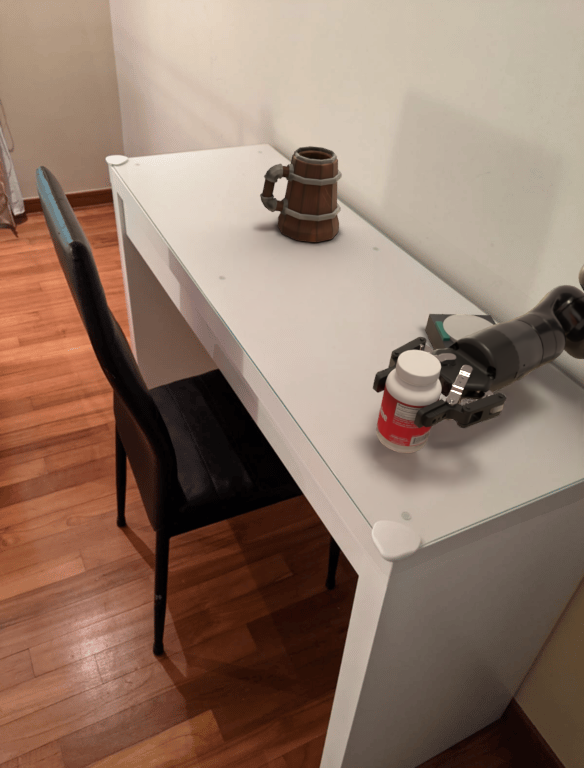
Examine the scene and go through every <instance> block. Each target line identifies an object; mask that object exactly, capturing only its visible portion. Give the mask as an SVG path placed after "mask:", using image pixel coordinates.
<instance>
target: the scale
mask: <svg viewBox="0 0 584 768" xmlns="http://www.w3.org/2000/svg"><path fill="white" fill-rule="evenodd" d="M495 324H497V323H496V321H495V320H494V318H493V316H492V315H491V314H468V313H458V314H457V313H449V314H448V313H429V314H428V318H427V321H426V325H425V329H424V330H425V332H426V335H427V337H428V339H429V341H430V343H431V345H432V349H433V350H436V349H447V348H448V347H450V346H451V345H452V344H453V343H454V342H456V341H457V340H459V339H461V338H463V337H465V336H468V335H470V334H473V333H475V332H478V331H480V330H483V329H485V328H487V327H490V326H492V325H495Z"/></svg>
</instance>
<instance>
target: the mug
mask: <svg viewBox="0 0 584 768" xmlns="http://www.w3.org/2000/svg"><path fill="white" fill-rule="evenodd" d="M342 175H343V174H342V172H341V170H340V169H339V159H338V155H337V154H336V153H335V152H334V151H333V150H331V149H328V148H325V147H322V146H313V145H309V146H302V147H298V148H297V149H295V150H294V151H293V154H292V155H291V160H290V163H288V164H286V165H283V164H282V163H278V164H274V165H272V166H271V167H270V168H268V169H267V170H266V172H265V174H264V175H263V177H264V183H263V188H262V192H261V193H260V194H259V197H260V201H261V203H262V205H263V207H264V208H265V209H266V210H267V211H270V212H271V213H274V212H280V213H279V215H278V217H277V228H278V229H279V231H280V233H281V234H282V235H284V236H286V237H289V238H290V239H293V240H295V241H301V242H310V243H321V242H324V241H330V240H333V239H334V238H335V237H336V235H338V233H339V229H340V221H339V220H340V219H339V216H338V214H339V213H340V212H341V209H342V207H341V206H340V205H339V203H338V181H339V180H340V179H341V178H342ZM283 178H285V179H286V181H287V184H286V187H285V194H284V197H283V198H282V199H281V200H279V199H277V198H276V197H275V195H274V190H275V186H276V183H278V180H282V179H283Z"/></svg>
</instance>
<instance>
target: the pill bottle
mask: <svg viewBox="0 0 584 768" xmlns="http://www.w3.org/2000/svg"><path fill="white" fill-rule="evenodd" d="M440 370H441V364H440V362H439V360H438V359H437V358H436V357H435V356H433V355H432V354H430V353H428V352H425V351H421V350H408V351H405V352H403V353H402V354H400V356H399V357H398V360H397V364H396V368H395V369H394V370H392V371H391V372H390V373H389V375H388V377H387V380H386V384H385V388H384V391H383V393H382V399H381V403H380V408H379V413H378V416H377V422H376V427H375V433H376V436H377V439H378V441H379V442H380V443H381V444H382V445H383V446H384V447H386V448H387V449H389V450H390V451H394V452H397V453H401V454H411V453H412V454H413V453H415V452H418V451H420V450H422V449H423V448H424V447H425V446H426V444H427V443H428V440H429V437H430V433H431V429H432V426H431V427H424V426H423V427H421V428H418V427H417V426H416V425H415V424H414V420H415V417H416V413H417V412H418V410H420V409H421V408H423V407H426V406H428V405H430V404H432V403H434V402H436V401H438V400H440V399H441V396H442V394H441V391H442V387H441V383H440V380H439V379H438V378H439V374H440Z"/></svg>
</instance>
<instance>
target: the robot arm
mask: <svg viewBox="0 0 584 768" xmlns="http://www.w3.org/2000/svg"><path fill="white" fill-rule="evenodd" d="M577 280H578V283H579V285H580V287H581V289H582V290H581V289H580V288H578V287H576V286H575V285H571V284H562V285H561V284H560V285H558V286H556V287H553V288H552V289H550V291H548V292H546V294H545V295H544V296H543V297H542V298H541V300H540V301H539V302H538V303H537V304H536V305H535V306H534V307H533V308H531V309H530V310H528V311H527V312H526V313H523V314H522V315H519V316H517V317H514V318H512V319H509V320H507V321H502V322H497V323H496V324H495V325H492V326H490V327H487V328H485V329H483V330H480V331H478V332H475V333H473V334H470V335H468V336H465V337H463V338H461V339H459V340H457V341H456V342H454V343H453V344H452V345H451V346H450V347H448V348H447V349H436V350H434V348H432V347H430V346H429V345H426V344H427V341H428V340H427V338H426V337H424V336H418V337H415V338H414V339H412V340H410V341H408V342H407V343H404V344H403V345H400V346H399V347H397V348H396V349H393V350H392V351H391V354H390V358H389V363H388V367H387V368H384V369H382V370H379V371H377V372H376V373H375V376H374V379H373V385H372V389H373V391H375V392H376V393H378V394H379V393H381V392H384V388H385V384H386V380H387V377H388V375H389V373H390V372H391V371H392V370H394V369H395V368H396V364H397V360H398V357H399V356H400V354H402V353H403V352H405V351H408V350H421V351H425V352H428V353H430V354H432V355H433V356H435V357H436V358H437V359H438V360H439V362H440V364H441V370H440V374H439V378H438V379H439V380H440V383H441V387H442V391H441V395H442V396H444V397H445V399H446V400H443V399H442V398H440V399H439V400H438V401H436V402H434V403H432V404H430V405H428V406H426V407H423V408H421V409H420V410H418V412H417V413H416V417H415V420H414V424H415V425H416V426H417V427H418V428H421V427H423V426H424V427H431V428H432V427H433V426H435V425H436V424H439V423H441V422H443V421H451V420H452V421H454V422H456V425H457V426H458V427H459V428H462V429H466V428H467V429H468V428H469V427H472V426H475V425H478V424H480V423H483V422H485V421H489V420H491V419H493V418H496V417H499V416H500V415H501V413H502V411H503V408H504V405H505V403H506V400H507V396H506V395H505V394H504V393H502V392H497V391H500V390H501V389H504V388H505V387H508V386H509V385H511V384H513V383H515V382H518V381H520V380H522V379H524V378H525V377H526V376H527V375H529V374H530V373H532V372H533V371H535V370H537V369H539V368H541V367H543V366H546V365H547V364H549V363H551V362H553V361H555V360H556V359H558V358H559V357H560V356H561V355H562V354H563V352H565V353H567V354H568V355H569V356H570V357H572V358H574V359H576V360H584V264H582V266H581V268H580V270H579V272H578V279H577ZM495 392H496V393H495ZM463 400H473V401H470V402H468V403H465V404H461V402H462V401H463Z"/></svg>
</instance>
